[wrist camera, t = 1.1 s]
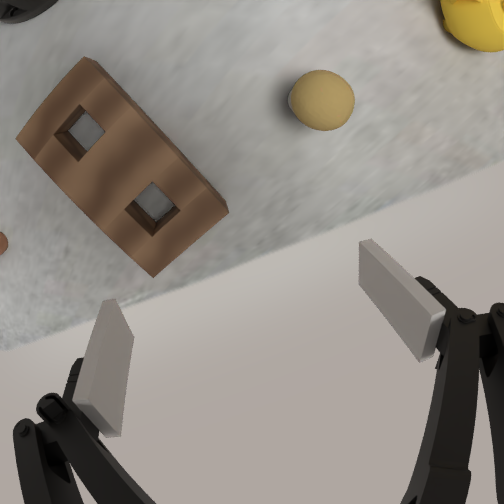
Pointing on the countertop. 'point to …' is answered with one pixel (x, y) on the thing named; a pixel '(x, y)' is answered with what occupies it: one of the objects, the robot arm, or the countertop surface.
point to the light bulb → (322, 100)
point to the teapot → (476, 23)
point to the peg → (3, 243)
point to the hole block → (120, 168)
